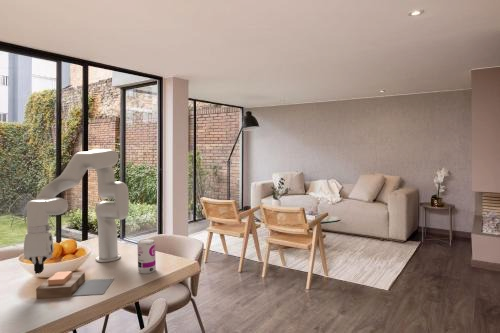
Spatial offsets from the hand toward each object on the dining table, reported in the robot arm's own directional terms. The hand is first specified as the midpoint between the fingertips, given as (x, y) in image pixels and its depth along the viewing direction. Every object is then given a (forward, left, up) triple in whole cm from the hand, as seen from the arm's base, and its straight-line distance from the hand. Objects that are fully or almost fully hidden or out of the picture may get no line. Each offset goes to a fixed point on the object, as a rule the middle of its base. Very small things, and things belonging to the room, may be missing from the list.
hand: (39, 272), depth 139 cm
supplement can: (-16, +41, -8) cm, 45 cm away
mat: (0, +22, -8) cm, 23 cm away
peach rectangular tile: (0, +8, -4) cm, 9 cm away
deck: (0, +9, -8) cm, 12 cm away
